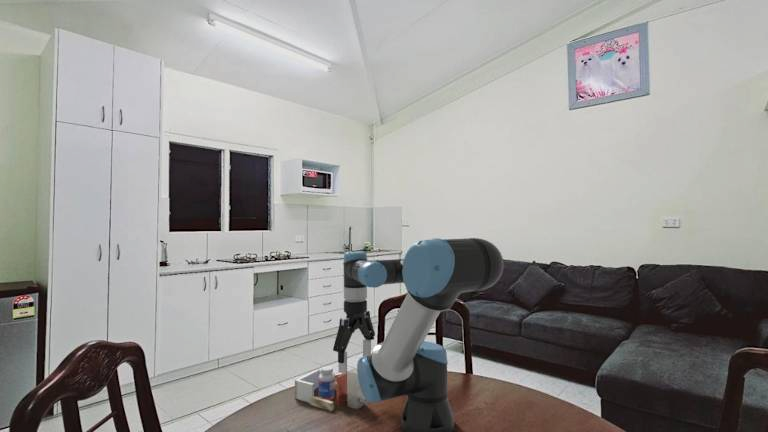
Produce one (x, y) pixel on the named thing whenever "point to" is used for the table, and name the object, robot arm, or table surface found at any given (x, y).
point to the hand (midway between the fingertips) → (355, 365)
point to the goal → (307, 385)
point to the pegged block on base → (350, 390)
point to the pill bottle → (327, 383)
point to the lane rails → (322, 402)
